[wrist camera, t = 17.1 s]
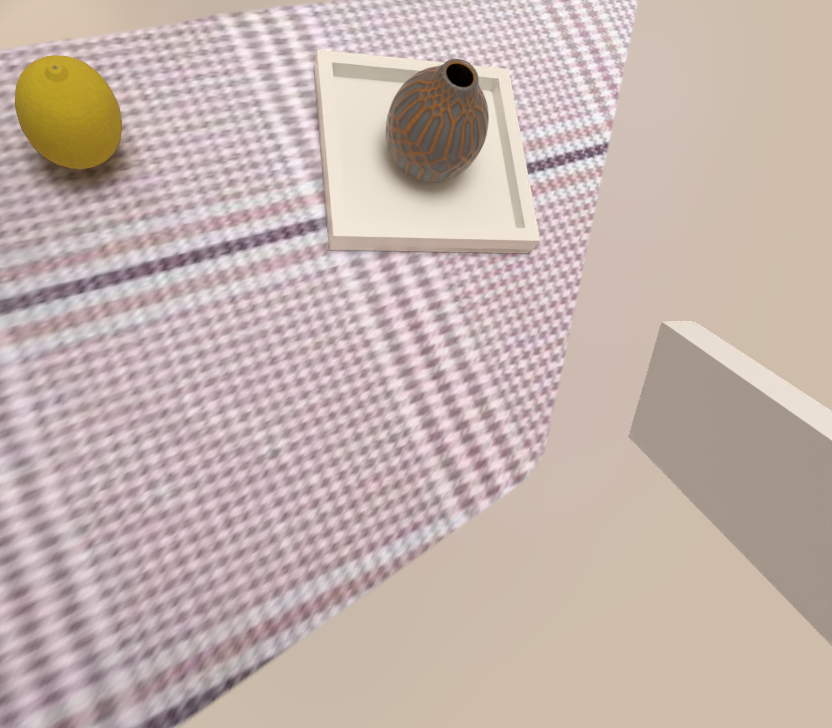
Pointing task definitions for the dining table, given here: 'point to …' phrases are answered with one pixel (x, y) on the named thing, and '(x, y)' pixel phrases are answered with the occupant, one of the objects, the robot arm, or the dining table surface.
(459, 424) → the dining table surface
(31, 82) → the lemon
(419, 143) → the vase
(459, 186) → the holder tray
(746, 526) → the robot arm
